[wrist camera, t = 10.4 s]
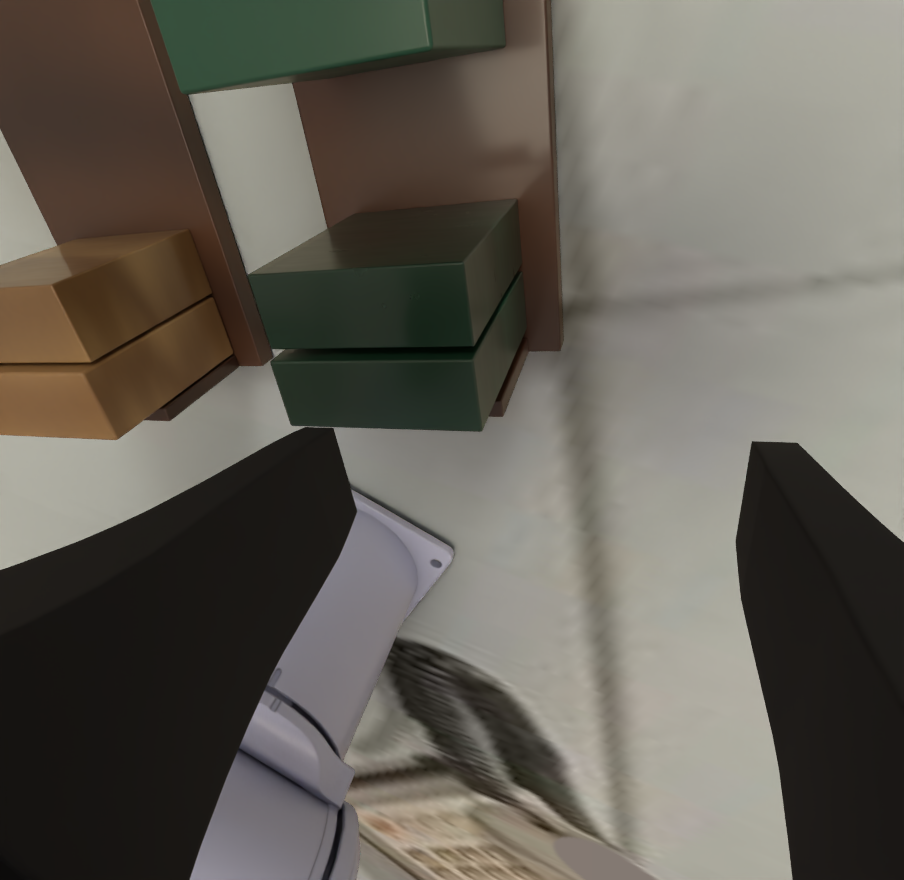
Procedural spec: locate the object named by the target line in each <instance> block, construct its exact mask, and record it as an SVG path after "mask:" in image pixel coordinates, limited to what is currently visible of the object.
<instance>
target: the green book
mask: <svg viewBox="0 0 904 880" xmlns="http://www.w3.org/2000/svg"><path fill="white" fill-rule="evenodd" d="M150 2H151V5H152V8H153V11H154V14H155V17H156V20H157V23H158V26H159V29H160V32H161V35H162V38H163V41H164V44H165V47H166V50H167V53H168V56H169V59H170V62H171V65H172V68H173V71H174V74H175V77H176V80H177V83H178V86H179V89H180V91H181V93H183V94H185V95H189V94H198V93H207V92H216V91H224V90H233V89H242V88H251V87H260V86H269V85H278V84H286V83H295V82H304V81H313V80H322V79H329V78H335V77H340V76H346V75H352V74H358V73H364V72H369V71H375V70H381V69H387V68H392V67H398V66H404V65H410V64H416V63H421V62H427V61H433V60H439V59H444V58H450V57H456V56H462V55H468V54H473V53H479V52H485V51H491V50H496V49H502V48H504V47H505V45H506V41H505V27H504V13H503V0H150Z"/></svg>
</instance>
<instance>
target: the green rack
mask: <svg viewBox="0 0 904 880" xmlns="http://www.w3.org/2000/svg"><path fill="white" fill-rule="evenodd" d="M503 13H504V27H505V41H506V45H505V47H504V48H502V49H496V50H491V51H485V52H479V53H473V54H468V55H462V56H456V57H450V58H444V59H439V60H433V61H427V62H421V63H416V64H410V65H404V66H398V67H392V68H387V69H381V70H375V71H369V72H364V73H358V74H352V75H346V76H340V77H335V78H329V79H322V80H313V81H304V82H295V83H292V84H293V88H294V92H295V96H296V100H297V105H298V109H299V113H300V117H301V121H302V125H303V129H304V133H305V137H306V142H307V146H308V150H309V154H310V158H311V162H312V166H313V170H314V175H315V179H316V183H317V187H318V191H319V195H320V199H321V203H322V208H323V212H324V216H325V220H326V224H327V228H328V229H327V230H325V231H323V232H321V233H320V234H318V235H316V236H314V237H313V238H311V239H309V240H308V241H306V242H304V243H302V244H301V245H299V246H297V247H295V248H294V249H292V250H290V251H288V252H287V253H285V254H283V255H282V256H280V257H278V258H276V259H275V260H273V261H271V262H269V263H268V264H266V265H264V266H263V267H261V268H259V269H257V270H256V271H254V272H252V273H250V274H249V275H248V280H249V283H250V286H251V289H252V292H253V295H254V298H255V301H256V304H257V307H258V310H259V313H260V316H261V319H262V322H263V326H264V329H265V332H266V335H267V338H268V341H269V344H270V347H271V349H285V350H284V351H283V352H281V353H280V354H279V355H278V356H277V357H275V358H274V359H273V360H272V361H271V367H272V370H273V373H274V376H275V379H276V382H277V385H278V388H279V391H280V394H281V397H282V400H283V403H284V406H285V409H286V412H287V415H288V418H289V421H290V424H291V425H292V426H318V427H350V428H382V429H414V430H446V431H478V432H480V431H482V430H483V428H484V426H485V423H486V421H487V419H488V417H503V416H504V413H505V411H506V408H507V405H508V403H509V400H510V398H511V395H512V393H513V390H514V388H515V385H516V383H517V380H518V378H519V375H520V372H521V370H522V367H523V365H524V362H525V360H526V357H527V355H528V352H530V351H560V350H561V348H562V344H563V341H564V335H563V309H562V283H561V256H560V230H559V203H558V177H557V151H556V124H555V98H554V71H553V45H552V19H551V0H503Z"/></svg>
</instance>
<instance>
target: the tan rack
mask: <svg viewBox="0 0 904 880" xmlns="http://www.w3.org/2000/svg"><path fill="white" fill-rule="evenodd" d="M0 129H1V131H2V133H3V135H4V137H5V139H6V141H7V144H8V146H9V148H10V150H11V152H12V154H13V156H14V158H15V160H16V162H17V164H18V166H19V168H20V170H21V172H22V174H23V176H24V178H25V180H26V182H27V184H28V187H29V189H30V191H31V193H32V195H33V197H34V199H35V201H36V203H37V205H38V207H39V209H40V211H41V213H42V215H43V217H44V219H45V221H46V223H47V225H48V227H49V229H50V232H51V234H52V236H53V238H54V240H55V242H56V244H57V246H55V247H52V248H49V249H46V250H43V251H40V252H37V253H34V254H31V255H28V256H26V257H23V258H20V259H17V260H14V261H11V262H8V263H5V264H2V265H0V435H14V436H37V437H59V438H82V439H104V440H117V439H119V438H120V437H122V436H123V435H124V434H126V433H127V432H128V431H130V430H131V429H133V428H134V427H135V426H137V425H138V424H139V423H141V422H142V421H143V420H152V421H171V420H172V419H173V418H175V417H176V416H177V415H178V414H180V413H181V412H182V411H183V410H185V409H186V408H187V407H188V406H190V405H191V404H192V403H194V402H195V401H196V400H197V399H199V398H200V397H201V396H202V395H204V394H205V393H206V392H208V391H209V390H210V389H211V388H213V387H214V386H215V385H216V384H218V383H219V382H220V381H221V380H223V379H224V378H225V377H227V376H228V375H229V374H230V373H232V372H233V371H234V370H235V369H237V368H238V367H239V366H263V365H264V364H266V363H267V362H268V361H269V360H270V359H272V358H273V355H272V352H271V349H270V346H269V343H268V340H267V337H266V334H265V331H264V328H263V325H262V322H261V319H260V315H259V312H258V309H257V306H256V303H255V300H254V297H253V294H252V291H251V288H250V285H249V282H248V279H247V276H246V273H245V270H244V267H243V264H242V261H241V258H240V254H239V251H238V248H237V245H236V242H235V239H234V236H233V233H232V230H231V227H230V224H229V221H228V218H227V215H226V212H225V209H224V206H223V203H222V200H221V197H220V193H219V190H218V187H217V184H216V181H215V178H214V175H213V172H212V169H211V166H210V163H209V160H208V157H207V154H206V151H205V148H204V145H203V142H202V139H201V136H200V132H199V129H198V126H197V123H196V120H195V117H194V114H193V111H192V108H191V105H190V102H189V99H188V96H187V95H185V94H183V93H181V91H180V89H179V86H178V83H177V80H176V77H175V74H174V71H173V68H172V65H171V62H170V59H169V56H168V53H167V50H166V47H165V44H164V41H163V38H162V35H161V32H160V29H159V26H158V23H157V20H156V17H155V14H154V11H153V8H152V5H151V2H150V0H0Z"/></svg>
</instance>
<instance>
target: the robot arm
mask: <svg viewBox="0 0 904 880" xmlns="http://www.w3.org/2000/svg"><path fill="white" fill-rule="evenodd" d="M736 552H737V563H738V574H739V584H740V593H741V601H742V605H743V610H744V614H745V619H746V623H747V627H748V632H749V636H750V640H751V645H752V649H753V653H754V658H755V662H756V666H757V670H758V675H759V679H760V683H761V687H762V692H763V696H764V700H765V705H766V709H767V713H768V717H769V722H770V726H771V730H772V734H773V739H774V745H775V750H776V755H777V761H778V766H779V773H780V780H781V788H782V796H783V804H784V811H785V819H786V827H787V835H788V843H789V851H790V860H791V869H792V877H793V880H904V542H903V541H901V540H900V539H899V538H898V537H897V536H895V535H894V534H893V533H892V532H891V531H890V530H889V529H888V528H886V527H885V526H884V525H883V524H882V523H881V522H880V521H879V520H877V519H876V518H875V517H874V516H873V515H872V514H871V513H870V512H869V511H868V510H866V509H865V508H864V507H863V506H862V505H861V504H860V503H859V502H858V501H857V500H856V499H855V498H854V497H852V496H851V495H850V494H849V493H848V492H847V491H846V490H845V489H844V488H843V487H842V486H841V485H840V484H839V483H838V482H837V481H836V480H835V479H834V478H833V477H832V476H831V475H830V474H829V473H828V472H827V471H826V470H825V469H824V468H823V467H821V466H820V465H819V464H818V463H817V462H816V461H815V460H814V459H813V458H812V457H811V456H810V455H809V454H808V453H807V452H806V451H805V450H804V449H803V448H802V447H801V446H800V445H799V444H798V443H785V442H754V441H752V444H751V450H750V456H749V462H748V469H747V475H746V481H745V487H744V493H743V499H742V505H741V512H740V518H739V524H738V530H737V536H736ZM453 557H454V551H453V549H452V548H451V547H450V546H448V545H447V544H445V543H443V542H442V541H440V540H438V539H436V538H435V537H433V536H431V535H430V534H428V533H426V532H424V531H423V530H421V529H419V528H418V527H416V526H414V525H412V524H411V523H409V522H407V521H405V520H404V519H402V518H400V517H399V516H397V515H395V514H393V513H392V512H390V511H388V510H387V509H385V508H383V507H381V506H380V505H378V504H376V503H374V502H373V501H371V500H369V499H368V498H366V497H364V496H362V495H361V494H359V493H357V492H356V491H354V490H352V489H351V488H350V484H349V481H348V477H347V474H346V470H345V467H344V463H343V460H342V456H341V453H340V449H339V446H338V443H337V439H336V436H335V432H334V429H333V428H314V427H305V428H302V429H300V430H298V431H295V432H293V433H291V434H289V435H287V436H285V437H283V438H281V439H279V440H277V441H275V442H273V443H272V444H270V445H268V446H266V447H264V448H262V449H261V450H259V451H257V452H255V453H253V454H252V455H250V456H248V457H246V458H245V459H243V460H241V461H239V462H237V463H236V464H234V465H232V466H230V467H228V468H227V469H225V470H223V471H221V472H220V473H218V474H216V475H214V476H212V477H211V478H209V479H207V480H205V481H203V482H201V483H200V484H198V485H196V486H194V487H192V488H190V489H188V490H186V491H184V492H182V493H180V494H179V495H177V496H175V497H173V498H171V499H169V500H167V501H165V502H163V503H161V504H159V505H157V506H156V507H154V508H152V509H150V510H148V511H146V512H144V513H141V514H139V515H137V516H135V517H133V518H131V519H129V520H127V521H124V522H122V523H120V524H118V525H116V526H113V527H111V528H109V529H106V530H104V531H102V532H99V533H97V534H95V535H93V536H90V537H88V538H85V539H83V540H81V541H78V542H76V543H73V544H70V545H68V546H65V547H62V548H60V549H57V550H54V551H52V552H49V553H46V554H44V555H41V556H38V557H36V558H33V559H30V560H28V561H25V562H22V563H20V564H17V565H14V566H11V567H8V568H5V569H3V570H0V880H356V878H357V873H358V868H359V861H360V839H359V824H358V816H357V813H356V811H355V808H354V807H353V806H352V805H350V804H349V803H347V802H346V801H344V799H345V796H346V794H347V791H348V789H349V786H350V784H351V781H352V779H353V776H354V774H355V770H354V769H353V768H352V767H350V766H349V765H347V764H346V763H345V762H343V760H344V757H345V755H346V753H347V750H348V748H349V746H350V743H351V741H352V739H353V736H354V734H355V732H356V729H357V727H358V725H359V722H360V720H361V718H362V715H363V713H364V711H365V708H366V706H367V704H368V701H369V699H370V697H371V694H372V692H373V689H374V687H375V685H376V682H377V680H378V678H379V675H380V673H381V671H382V668H383V666H384V664H385V661H386V659H387V657H388V654H389V652H390V650H391V647H392V645H393V643H394V640H395V638H396V636H397V633H398V631H399V629H400V626H401V624H402V623H403V622H404V621H405V619H406V618H407V617H408V616H409V614H410V613H411V612H412V611H413V609H414V608H415V607H416V606H417V604H418V603H419V602H420V601H421V599H422V598H423V597H424V596H425V594H426V593H427V592H428V591H429V589H430V588H431V587H432V586H433V584H434V583H435V582H436V581H437V580H438V578H439V577H440V576H441V575H442V573H443V572H444V571H445V570H446V568H447V567H448V566H449V565H450V563H451V562H452V559H453ZM435 559H436V560H439V561H440V562H439V561H436V560H435Z"/></svg>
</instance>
